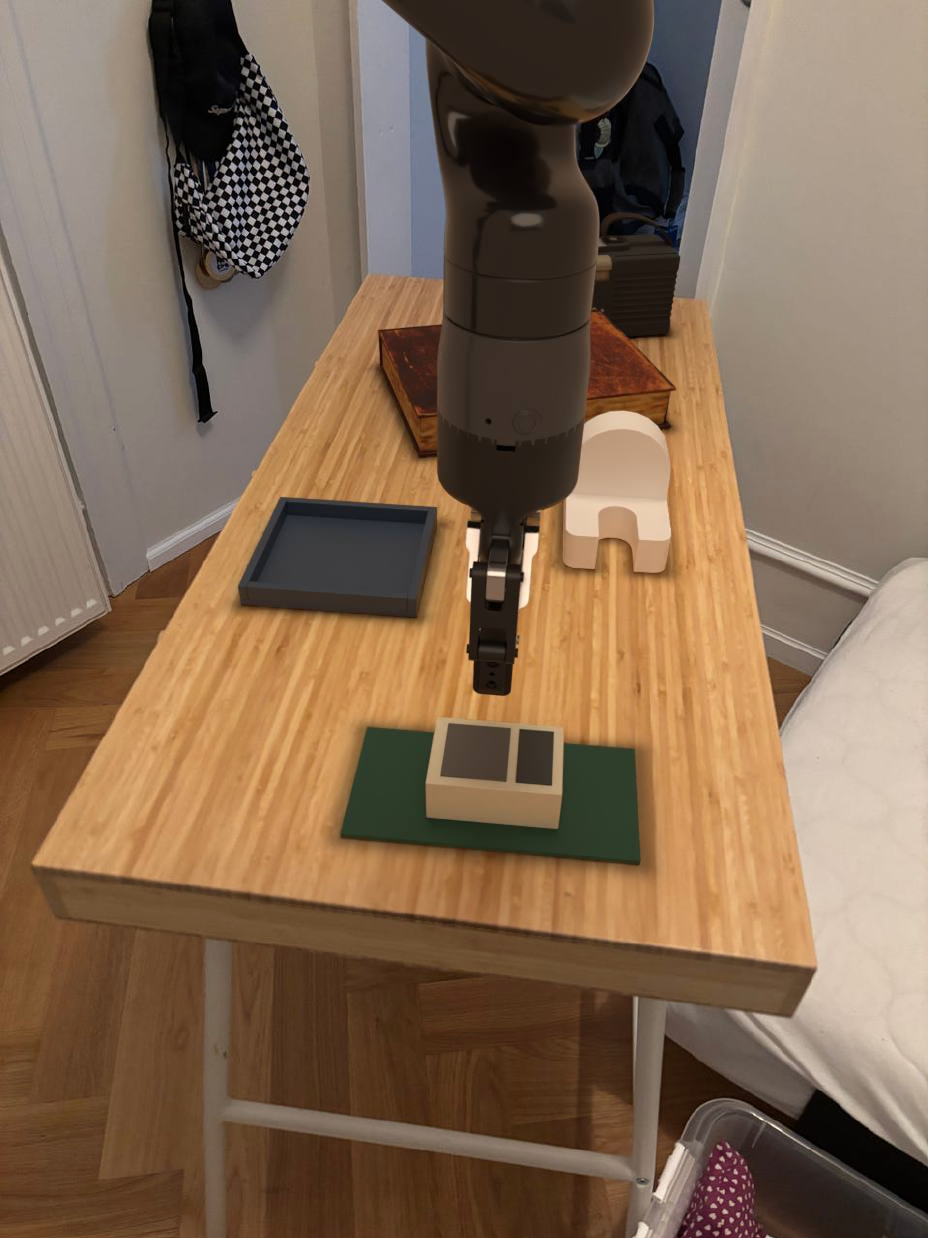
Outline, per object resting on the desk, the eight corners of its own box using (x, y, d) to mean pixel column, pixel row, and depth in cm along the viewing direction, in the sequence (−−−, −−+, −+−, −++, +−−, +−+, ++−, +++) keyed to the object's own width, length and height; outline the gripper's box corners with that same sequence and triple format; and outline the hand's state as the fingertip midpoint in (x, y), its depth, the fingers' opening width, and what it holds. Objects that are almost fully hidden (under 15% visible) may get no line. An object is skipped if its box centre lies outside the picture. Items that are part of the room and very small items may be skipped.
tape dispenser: (653, 474, 100) (669, 380, 94) (666, 573, 86) (685, 472, 80) (564, 468, 101) (572, 375, 94) (562, 567, 87) (572, 465, 80)
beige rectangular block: (426, 818, 64) (425, 781, 61) (437, 750, 69) (436, 714, 66) (558, 829, 63) (562, 793, 61) (560, 761, 68) (564, 725, 66)
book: (596, 345, 126) (600, 309, 123) (670, 428, 108) (676, 388, 105) (379, 366, 120) (377, 329, 117) (419, 457, 102) (418, 416, 99)
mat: (340, 837, 63) (340, 833, 63) (367, 730, 71) (367, 726, 70) (639, 864, 62) (640, 861, 61) (634, 752, 69) (634, 748, 69)
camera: (554, 313, 135) (562, 203, 126) (645, 307, 137) (660, 199, 128) (575, 343, 127) (585, 228, 117) (672, 336, 129) (690, 223, 119)
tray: (240, 604, 82) (237, 585, 81) (282, 514, 93) (280, 496, 92) (416, 617, 81) (416, 598, 80) (437, 524, 92) (437, 506, 91)
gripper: (453, 338, 53) (450, 570, 63) (417, 464, 42) (420, 720, 52) (586, 347, 52) (561, 579, 63) (586, 476, 41) (555, 732, 52)
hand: (497, 643), depth 57 cm, fingers open, 8 cm apart
